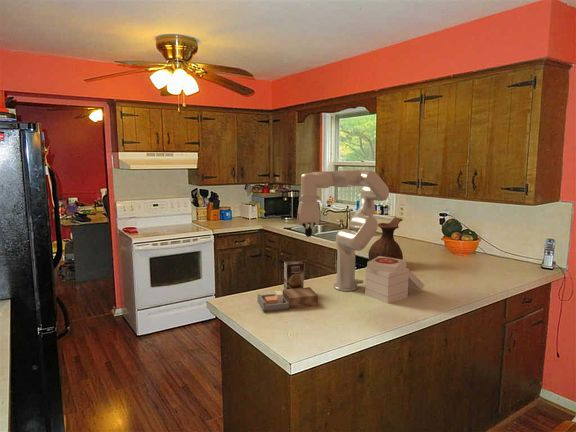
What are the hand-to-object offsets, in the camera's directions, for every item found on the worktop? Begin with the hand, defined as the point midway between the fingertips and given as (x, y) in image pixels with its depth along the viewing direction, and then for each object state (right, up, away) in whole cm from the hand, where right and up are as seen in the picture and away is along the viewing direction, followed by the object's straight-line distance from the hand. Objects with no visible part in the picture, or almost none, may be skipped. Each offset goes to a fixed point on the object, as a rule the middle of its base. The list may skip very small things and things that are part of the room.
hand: (308, 236), depth 201 cm
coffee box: (-7, -30, +11) cm, 33 cm away
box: (-17, -32, -6) cm, 37 cm away
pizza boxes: (+44, -30, +10) cm, 54 cm away
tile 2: (-13, -29, -5) cm, 32 cm away
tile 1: (-18, -29, -7) cm, 35 cm away
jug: (+52, -22, +60) cm, 82 cm away
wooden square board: (-4, -32, -2) cm, 32 cm away
